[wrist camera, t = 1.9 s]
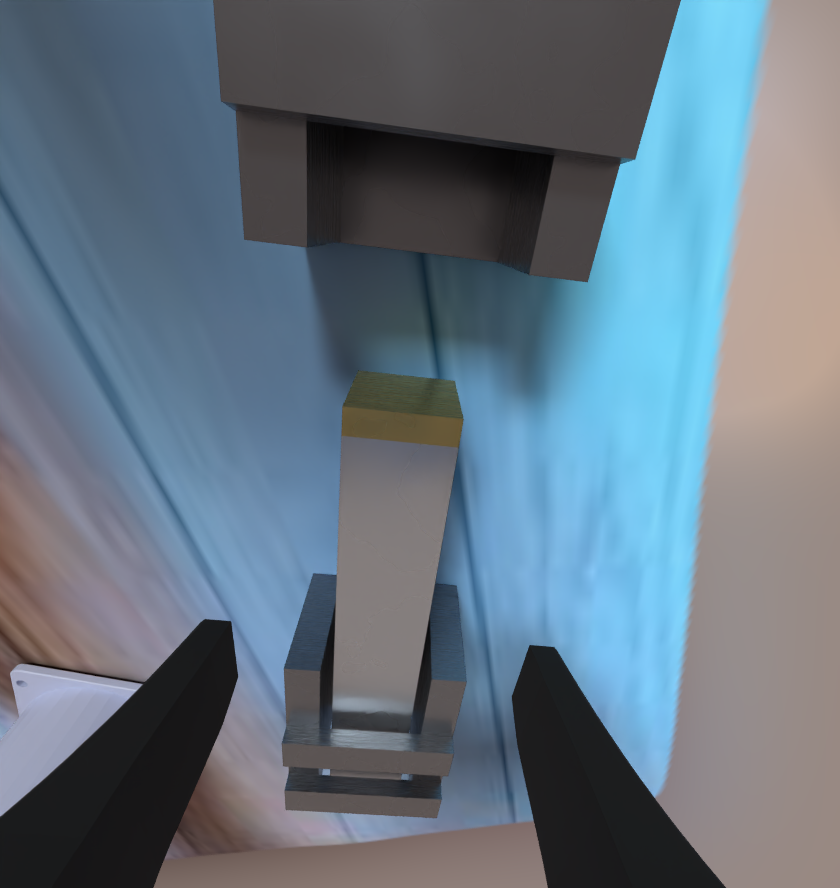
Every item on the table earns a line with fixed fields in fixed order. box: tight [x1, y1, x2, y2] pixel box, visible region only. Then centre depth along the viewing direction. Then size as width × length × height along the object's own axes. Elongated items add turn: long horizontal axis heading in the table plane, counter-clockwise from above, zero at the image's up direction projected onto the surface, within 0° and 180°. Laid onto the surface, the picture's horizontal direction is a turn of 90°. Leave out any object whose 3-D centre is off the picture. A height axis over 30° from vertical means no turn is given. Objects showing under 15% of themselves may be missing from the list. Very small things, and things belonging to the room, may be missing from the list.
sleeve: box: [282, 574, 467, 818], centre depth 18 cm, size 8×6×5 cm
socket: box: [213, 0, 681, 282], centre depth 9 cm, size 5×7×5 cm
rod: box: [330, 370, 464, 780], centre depth 16 cm, size 18×3×3 cm, turn 174°
